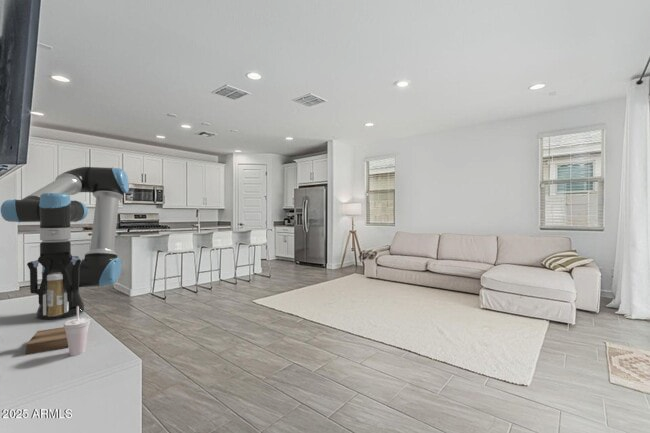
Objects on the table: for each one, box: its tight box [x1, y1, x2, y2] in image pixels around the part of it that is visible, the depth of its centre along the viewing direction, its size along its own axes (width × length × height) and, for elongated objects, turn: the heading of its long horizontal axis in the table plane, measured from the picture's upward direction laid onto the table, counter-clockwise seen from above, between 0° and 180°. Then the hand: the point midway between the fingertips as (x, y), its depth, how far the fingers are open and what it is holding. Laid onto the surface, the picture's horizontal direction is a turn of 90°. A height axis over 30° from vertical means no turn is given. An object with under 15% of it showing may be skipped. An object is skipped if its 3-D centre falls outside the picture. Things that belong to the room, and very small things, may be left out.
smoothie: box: [63, 306, 91, 357], centre depth 95 cm, size 6×6×14 cm
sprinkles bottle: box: [47, 272, 64, 317], centre depth 101 cm, size 5×5×14 cm
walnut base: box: [25, 327, 68, 355], centre depth 102 cm, size 12×12×3 cm
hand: (56, 312), depth 101 cm, fingers closed on sprinkles bottle, 4 cm apart
